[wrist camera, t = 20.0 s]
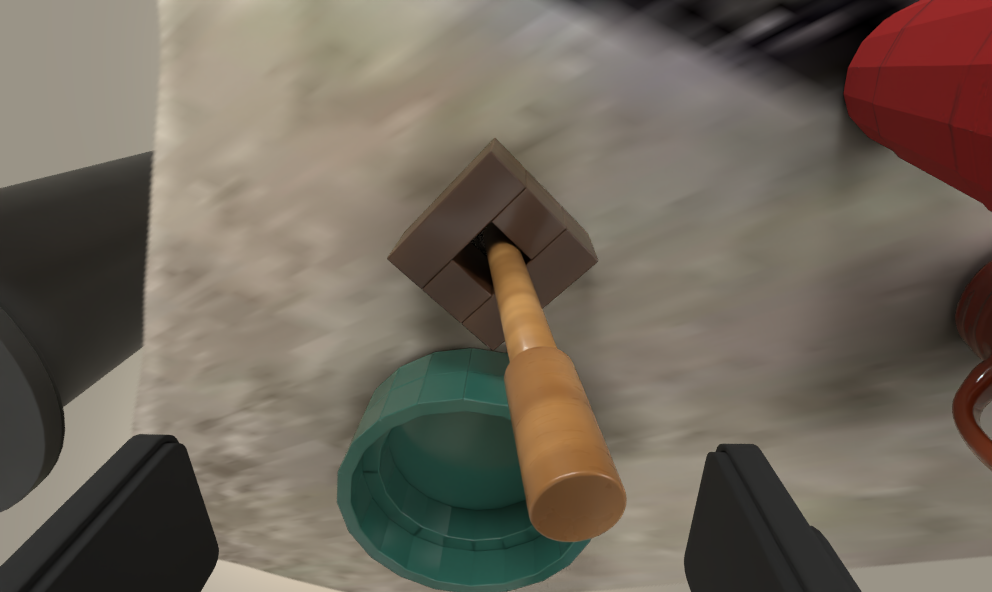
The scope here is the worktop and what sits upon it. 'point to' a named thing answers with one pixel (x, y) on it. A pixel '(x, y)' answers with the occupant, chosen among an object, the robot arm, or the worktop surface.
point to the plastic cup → (930, 90)
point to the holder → (518, 214)
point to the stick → (550, 413)
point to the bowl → (445, 480)
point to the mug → (988, 332)
